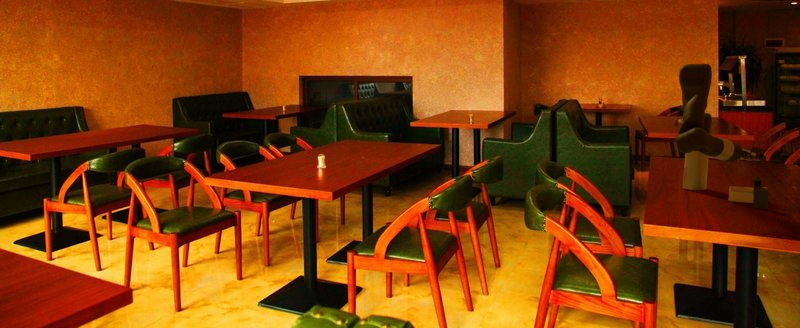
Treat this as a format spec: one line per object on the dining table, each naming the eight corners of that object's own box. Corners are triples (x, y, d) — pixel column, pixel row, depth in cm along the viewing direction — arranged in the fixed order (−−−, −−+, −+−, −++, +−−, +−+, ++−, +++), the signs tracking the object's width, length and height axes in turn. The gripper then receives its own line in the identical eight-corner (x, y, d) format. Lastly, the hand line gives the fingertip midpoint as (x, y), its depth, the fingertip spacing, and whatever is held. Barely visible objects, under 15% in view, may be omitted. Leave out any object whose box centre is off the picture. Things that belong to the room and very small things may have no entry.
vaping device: (752, 206, 239) (754, 175, 237) (768, 208, 236) (770, 177, 234) (751, 207, 237) (753, 176, 235) (766, 209, 234) (769, 178, 232)
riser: (728, 200, 249) (729, 190, 248) (728, 195, 259) (729, 185, 258) (760, 203, 244) (761, 193, 243) (759, 198, 253) (760, 188, 253)
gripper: (743, 140, 218) (774, 149, 224) (709, 139, 231) (738, 148, 237) (740, 161, 217) (770, 169, 224) (705, 159, 230) (735, 167, 237)
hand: (754, 158), depth 230 cm, fingers open, 8 cm apart
